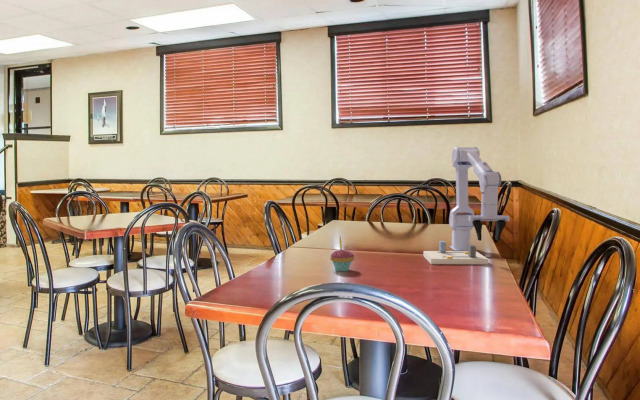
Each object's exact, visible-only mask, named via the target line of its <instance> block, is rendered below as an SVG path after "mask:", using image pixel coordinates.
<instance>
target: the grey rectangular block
mask: <svg viewBox="0 0 640 400" xmlns="http://www.w3.org/2000/svg"><path fill="white" fill-rule="evenodd" d="M438 251H440V252H446V251H447V242H446V240H438Z"/></svg>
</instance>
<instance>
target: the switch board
mask: <svg viewBox="0 0 640 400" xmlns="http://www.w3.org/2000/svg"><path fill="white" fill-rule="evenodd" d="M422 255H423V257H424V258H425V259H426V260H427V262H428V263H429V264H431V265H489V258H487V256H484V255H483V254H481V253H480V252H478V251H477V250H476V257H470V256H468V251H454V250H446V252H440V251H439V250H423V253H422Z"/></svg>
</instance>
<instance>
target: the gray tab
mask: <svg viewBox="0 0 640 400" xmlns="http://www.w3.org/2000/svg"><path fill="white" fill-rule="evenodd" d="M476 251H477V246H476V245H474V244H470V245H468V256H470V257H476Z"/></svg>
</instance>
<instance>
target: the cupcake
mask: <svg viewBox="0 0 640 400" xmlns="http://www.w3.org/2000/svg"><path fill="white" fill-rule="evenodd" d="M342 242H343V241H342V237H341V236H339V250H334V251H333V252H332V253H331V254H330V261H331V263H332V264H333V266H334V267H333V268H334V269H335V271H337V272H347V271H349V270H350V267H351V264H352V262H353V261H355V259H356V258H355V254H354V253H352V252H351V251H350V250H346V249H343V244H342Z"/></svg>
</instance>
